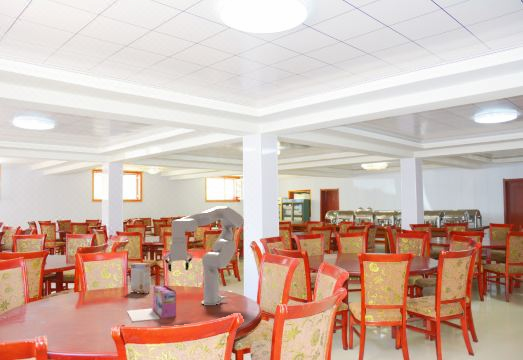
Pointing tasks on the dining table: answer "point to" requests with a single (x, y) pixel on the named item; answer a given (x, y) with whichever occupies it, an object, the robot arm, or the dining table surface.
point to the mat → (142, 315)
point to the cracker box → (140, 277)
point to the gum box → (164, 302)
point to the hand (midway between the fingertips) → (178, 270)
